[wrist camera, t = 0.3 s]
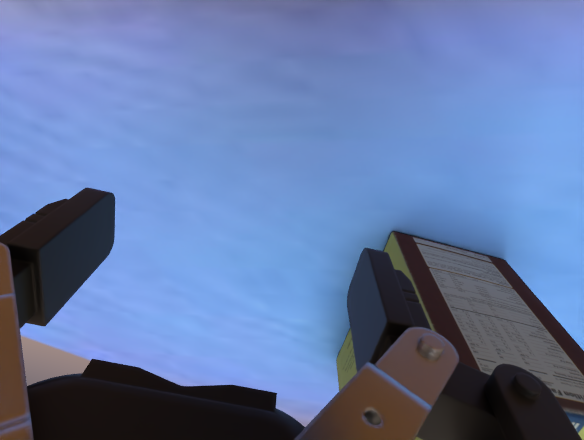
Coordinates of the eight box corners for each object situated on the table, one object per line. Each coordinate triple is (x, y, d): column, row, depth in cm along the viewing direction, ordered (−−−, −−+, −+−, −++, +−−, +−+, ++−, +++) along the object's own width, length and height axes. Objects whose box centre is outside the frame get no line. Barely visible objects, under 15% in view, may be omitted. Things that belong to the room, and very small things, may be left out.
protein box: (334, 360, 38) (350, 550, 24) (391, 228, 31) (458, 385, 18) (433, 382, 39) (503, 577, 25) (509, 258, 32) (661, 430, 18)
